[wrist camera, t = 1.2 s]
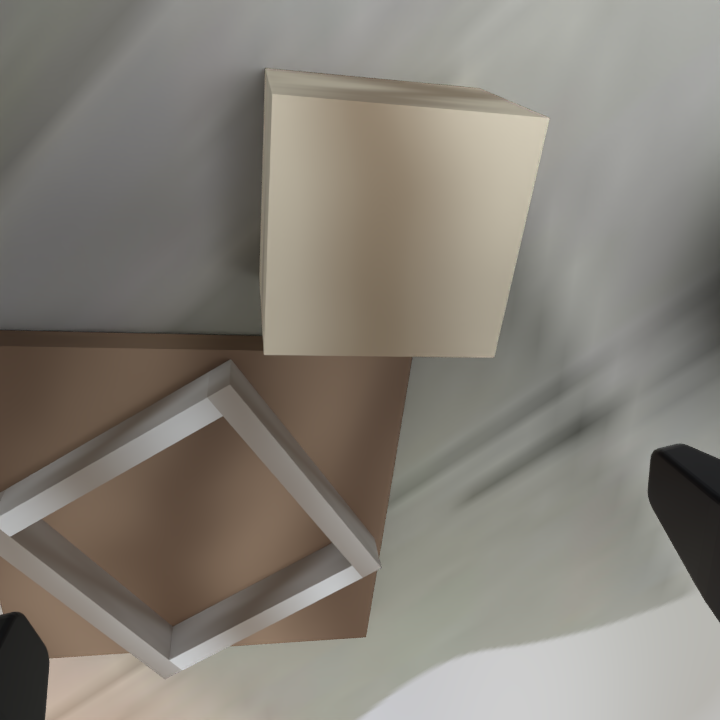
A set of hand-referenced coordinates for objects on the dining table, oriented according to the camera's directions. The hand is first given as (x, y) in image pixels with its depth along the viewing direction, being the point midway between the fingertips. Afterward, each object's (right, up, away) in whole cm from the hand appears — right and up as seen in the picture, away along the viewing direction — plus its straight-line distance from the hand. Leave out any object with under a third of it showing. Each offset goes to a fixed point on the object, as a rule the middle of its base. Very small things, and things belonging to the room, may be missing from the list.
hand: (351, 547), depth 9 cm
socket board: (-6, -3, +15) cm, 16 cm away
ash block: (0, +8, +10) cm, 13 cm away
